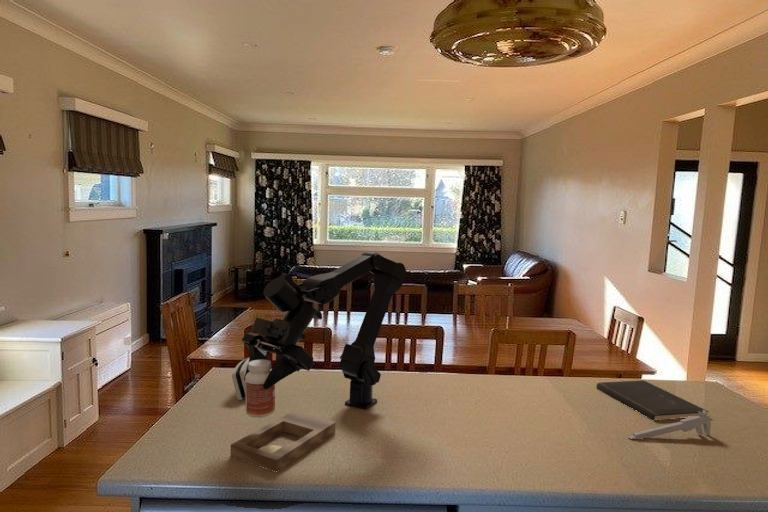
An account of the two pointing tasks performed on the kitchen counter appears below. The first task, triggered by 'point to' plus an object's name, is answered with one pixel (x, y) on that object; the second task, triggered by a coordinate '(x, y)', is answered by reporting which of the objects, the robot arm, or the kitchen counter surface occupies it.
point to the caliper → (679, 427)
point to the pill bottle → (259, 390)
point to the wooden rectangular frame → (277, 456)
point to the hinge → (240, 378)
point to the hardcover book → (649, 399)
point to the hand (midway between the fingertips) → (254, 384)
